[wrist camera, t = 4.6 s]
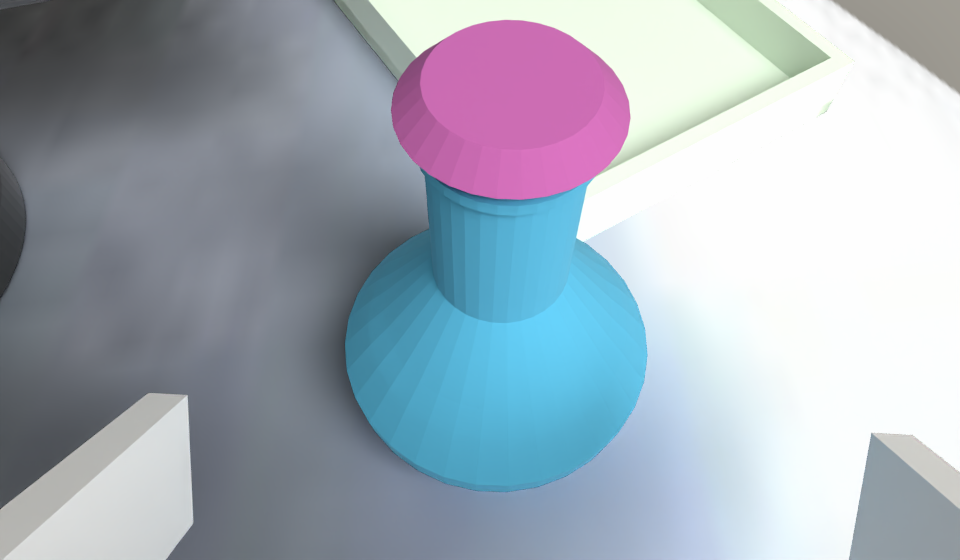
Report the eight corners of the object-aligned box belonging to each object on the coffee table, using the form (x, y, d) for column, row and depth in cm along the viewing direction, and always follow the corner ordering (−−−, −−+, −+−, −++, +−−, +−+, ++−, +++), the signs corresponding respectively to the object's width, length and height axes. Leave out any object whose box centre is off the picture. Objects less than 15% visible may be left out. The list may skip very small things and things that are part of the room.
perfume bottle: (344, 316, 28) (240, -32, 15) (572, 266, 29) (649, -93, 17) (391, 560, 23) (296, 351, 11) (659, 487, 25) (861, 223, 12)
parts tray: (318, -19, 39) (307, -72, 36) (563, -108, 43) (569, -160, 41) (544, 262, 29) (551, 217, 27) (826, 111, 34) (854, 61, 32)
